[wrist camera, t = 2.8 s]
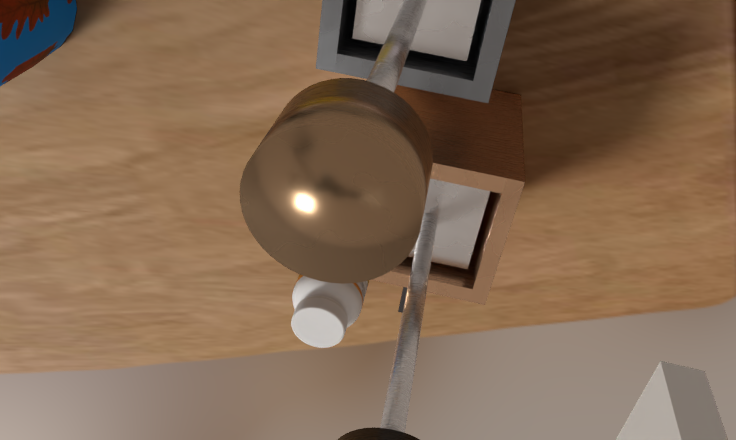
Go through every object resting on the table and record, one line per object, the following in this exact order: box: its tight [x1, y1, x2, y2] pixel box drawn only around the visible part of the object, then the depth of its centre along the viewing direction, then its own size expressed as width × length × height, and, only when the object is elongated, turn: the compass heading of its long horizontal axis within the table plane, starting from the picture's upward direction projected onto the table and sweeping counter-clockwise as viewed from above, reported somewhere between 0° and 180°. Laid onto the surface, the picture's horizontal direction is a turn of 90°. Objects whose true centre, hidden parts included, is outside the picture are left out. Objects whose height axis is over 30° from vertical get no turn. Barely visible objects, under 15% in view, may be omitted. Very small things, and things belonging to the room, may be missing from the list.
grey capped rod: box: [338, 179, 490, 440], centre depth 31 cm, size 6×6×21 cm
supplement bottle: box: [291, 275, 369, 348], centre depth 51 cm, size 5×5×10 cm
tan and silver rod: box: [240, 0, 481, 284], centre depth 24 cm, size 6×6×21 cm
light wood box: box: [372, 85, 525, 313], centre depth 44 cm, size 12×9×12 cm
